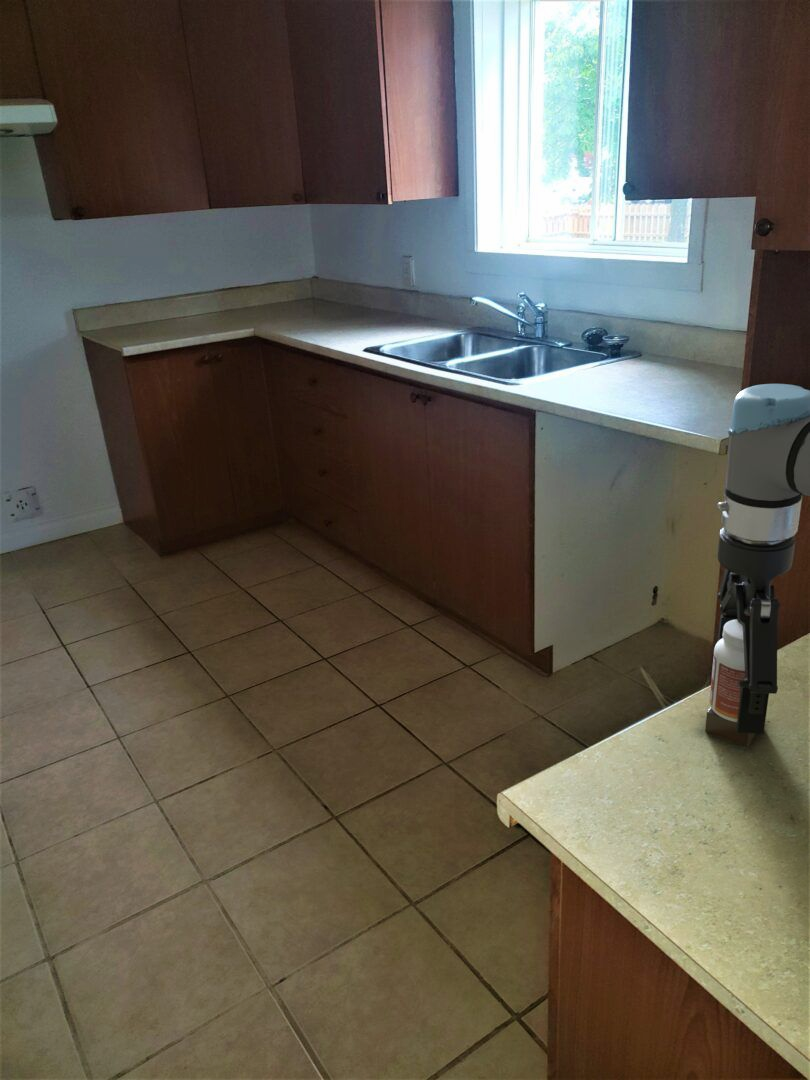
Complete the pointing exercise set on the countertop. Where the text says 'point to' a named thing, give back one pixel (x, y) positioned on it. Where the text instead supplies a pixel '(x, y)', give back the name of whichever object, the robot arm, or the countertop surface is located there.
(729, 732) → the walnut block
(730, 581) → the robot arm
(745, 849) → the countertop surface
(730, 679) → the pill bottle
